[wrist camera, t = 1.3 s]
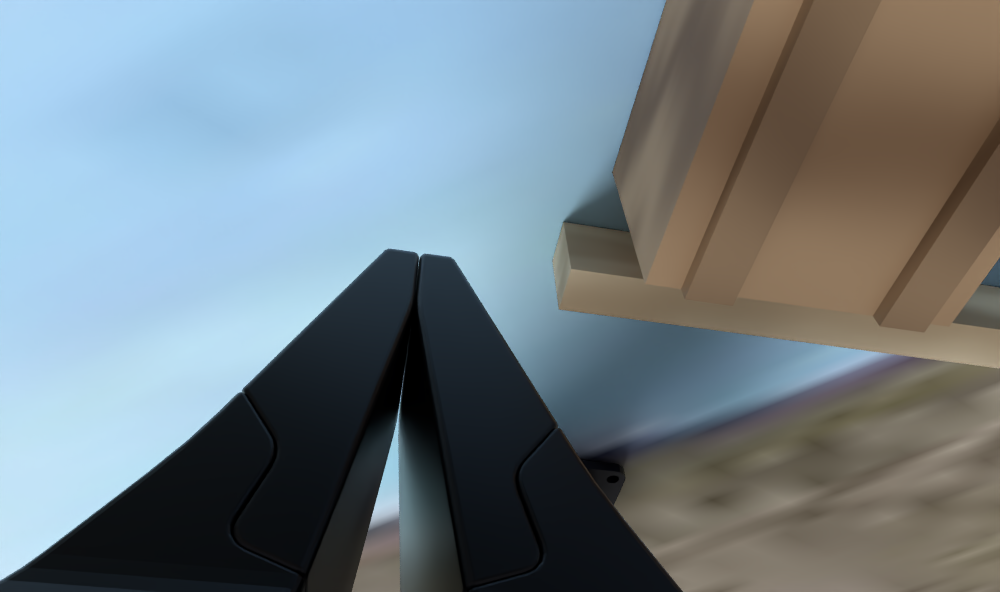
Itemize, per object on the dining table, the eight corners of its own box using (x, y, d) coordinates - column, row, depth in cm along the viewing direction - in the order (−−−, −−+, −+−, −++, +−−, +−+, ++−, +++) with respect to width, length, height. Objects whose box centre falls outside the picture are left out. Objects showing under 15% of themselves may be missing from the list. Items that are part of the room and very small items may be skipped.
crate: (860, 211, 23) (957, 337, 18) (612, 172, 22) (647, 294, 17) (1016, -64, 18) (1201, 10, 13) (707, -132, 17) (793, -77, 12)
